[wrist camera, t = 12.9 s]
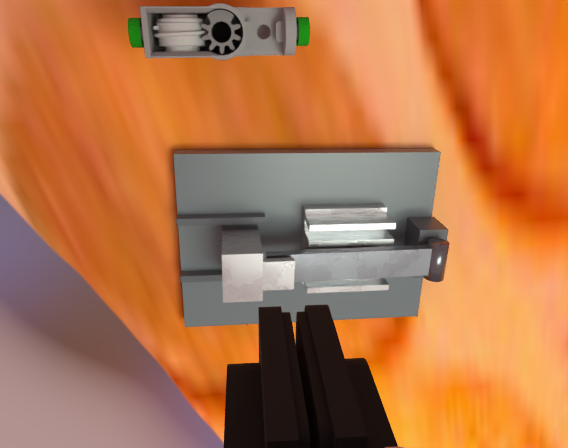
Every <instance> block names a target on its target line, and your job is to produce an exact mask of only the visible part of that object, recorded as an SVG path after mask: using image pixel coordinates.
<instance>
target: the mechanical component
mask: <svg viewBox="0 0 568 448" xmlns="http://www.w3.org/2000/svg"><path fill="white" fill-rule="evenodd" d="M140 12H141V18H129V19H128V32H129V39H130V43H131V46H132V47H144V49H145V58H198V57H212V58H214V59H218V60H227V59H231V58H233V57H235V56H250V55H295V51H296V45H297V46H308V44H309V37H310V24H309V18H308V17H297V18H296V12H295V8H294V7H283V8H244V7H232V6H230V5H227V4H220V3H218V4H213V5H210V6H143V7H140Z"/></svg>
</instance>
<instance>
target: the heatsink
mask: <svg viewBox="0 0 568 448" xmlns="http://www.w3.org/2000/svg"><path fill="white" fill-rule="evenodd" d="M395 227H396V223H395V221H394V220H393V219H392V218H391V217H390V216H389V215H388V214H387V207H386V206H385V205H384V204H351V205H303V229H302V250H311V249H336V248H361V247H386V246H385V245H394V238H393V237H392V236H391V235H390V233H389V232H388V231H387V230H386V229H395ZM302 284H304V286H305V289H306V292H307V293H329V292H353V291H377V290H388V289H389V284H388V283H387V281H386V279H385V278H368V279H348V280H328V281H307V282H302Z"/></svg>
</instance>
